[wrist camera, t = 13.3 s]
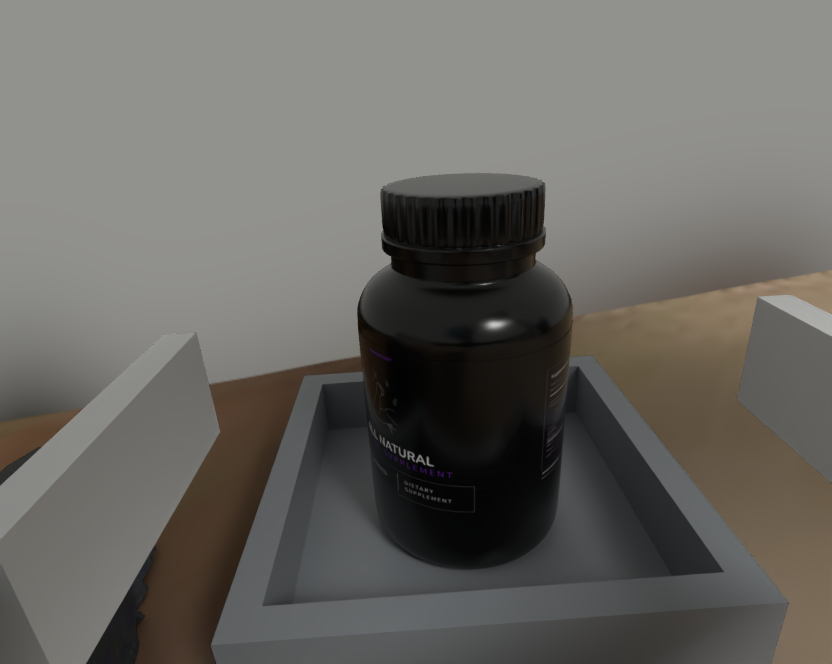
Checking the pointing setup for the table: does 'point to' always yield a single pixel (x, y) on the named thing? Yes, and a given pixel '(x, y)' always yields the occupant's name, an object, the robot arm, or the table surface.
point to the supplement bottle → (465, 369)
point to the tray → (503, 585)
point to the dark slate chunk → (123, 625)
